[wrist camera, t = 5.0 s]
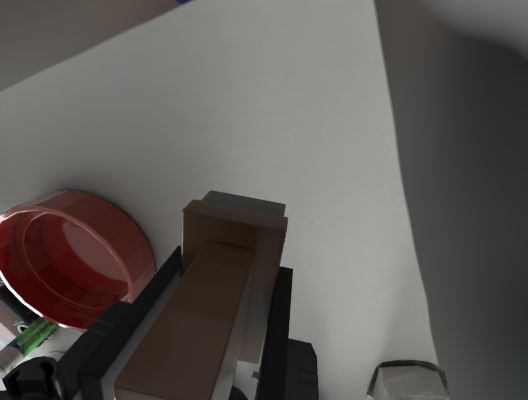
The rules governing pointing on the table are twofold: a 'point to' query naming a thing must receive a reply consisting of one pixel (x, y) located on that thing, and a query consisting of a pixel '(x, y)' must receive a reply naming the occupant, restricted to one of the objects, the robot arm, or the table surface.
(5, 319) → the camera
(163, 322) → the brown block stand
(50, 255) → the bowl
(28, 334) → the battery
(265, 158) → the table surface
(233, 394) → the toy
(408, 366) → the decorative ornament
